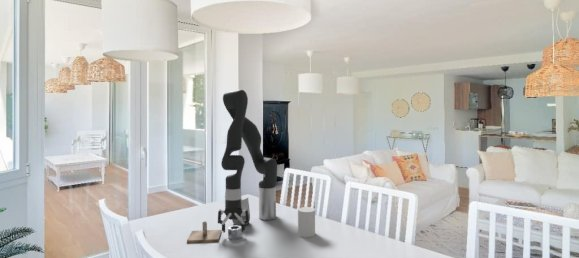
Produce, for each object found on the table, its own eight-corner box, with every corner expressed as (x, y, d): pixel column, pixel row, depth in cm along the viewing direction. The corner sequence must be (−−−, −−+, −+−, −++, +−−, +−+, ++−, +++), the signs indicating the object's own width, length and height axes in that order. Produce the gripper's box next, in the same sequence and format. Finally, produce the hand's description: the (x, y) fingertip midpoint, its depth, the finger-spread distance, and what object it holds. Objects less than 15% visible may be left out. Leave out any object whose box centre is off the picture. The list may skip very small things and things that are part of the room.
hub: (241, 234, 161) (241, 225, 161) (241, 239, 155) (240, 229, 155) (229, 234, 160) (228, 225, 160) (227, 239, 154) (227, 230, 154)
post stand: (221, 232, 164) (221, 216, 163) (218, 241, 152) (218, 225, 151) (192, 233, 163) (191, 217, 162) (187, 243, 151) (186, 226, 150)
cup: (316, 232, 163) (316, 207, 162) (312, 238, 155) (312, 212, 155) (300, 230, 166) (300, 206, 165) (295, 236, 158) (295, 211, 157)
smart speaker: (239, 220, 182) (239, 194, 181) (253, 222, 178) (253, 196, 177) (228, 225, 174) (228, 198, 173) (242, 228, 169) (242, 200, 168)
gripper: (248, 195, 161) (249, 228, 162) (218, 195, 160) (219, 229, 161) (248, 199, 153) (248, 234, 154) (216, 199, 152) (216, 235, 153)
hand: (233, 231), depth 157 cm, fingers open, 8 cm apart
